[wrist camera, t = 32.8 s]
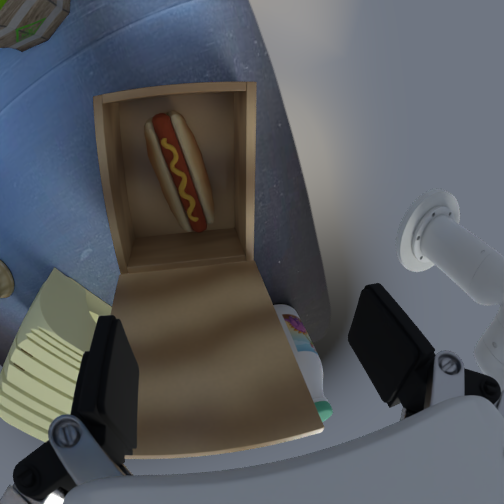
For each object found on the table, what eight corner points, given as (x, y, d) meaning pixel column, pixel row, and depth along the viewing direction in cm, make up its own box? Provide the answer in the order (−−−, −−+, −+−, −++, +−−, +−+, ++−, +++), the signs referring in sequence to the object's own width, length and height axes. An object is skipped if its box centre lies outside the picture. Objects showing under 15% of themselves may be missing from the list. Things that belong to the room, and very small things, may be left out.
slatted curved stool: (81, 224, 33) (28, 315, 18) (168, 291, 41) (170, 395, 26) (15, 335, 38) (-12, 411, 23) (80, 376, 47) (70, 453, 32)
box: (112, 96, 26) (92, 96, 20) (240, 85, 29) (256, 81, 23) (130, 241, 36) (120, 275, 29) (240, 230, 39) (253, 261, 32)
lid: (93, 453, 12) (121, 474, 15) (324, 427, 15) (310, 451, 18) (119, 274, 29) (130, 309, 31) (254, 260, 32) (253, 296, 34)
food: (220, 210, 36) (226, 227, 32) (179, 225, 35) (179, 244, 31) (185, 103, 28) (185, 103, 24) (138, 121, 28) (131, 124, 24)
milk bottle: (260, 341, 51) (294, 437, 34) (247, 313, 47) (283, 420, 30) (300, 325, 51) (345, 417, 34) (291, 295, 47) (343, 395, 30)
